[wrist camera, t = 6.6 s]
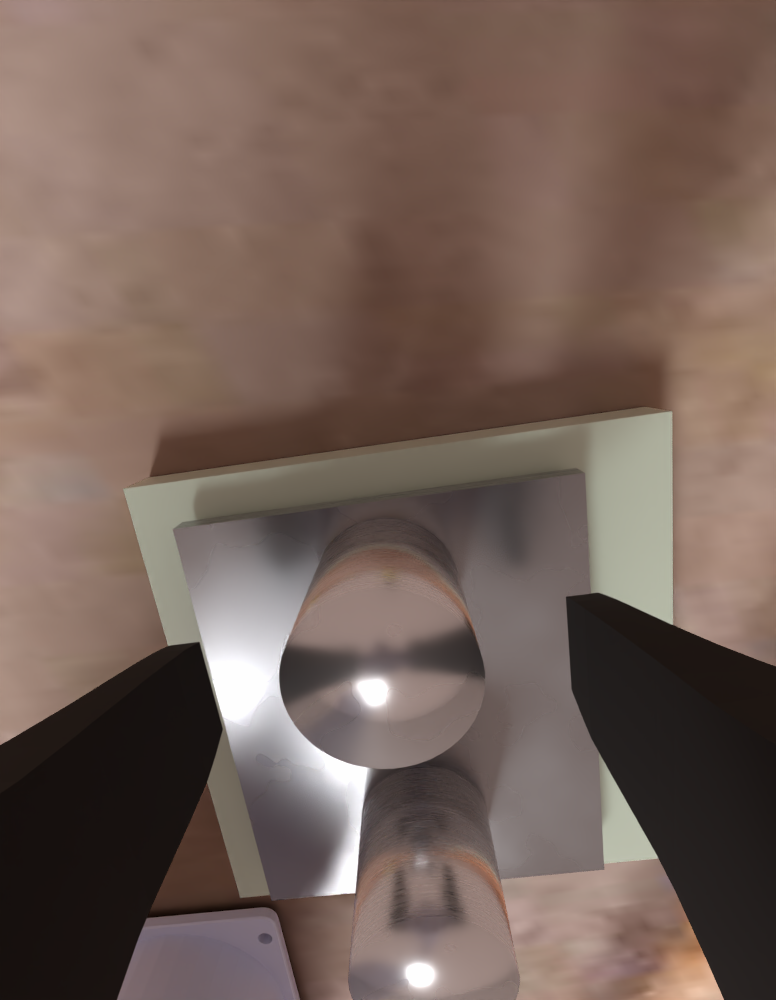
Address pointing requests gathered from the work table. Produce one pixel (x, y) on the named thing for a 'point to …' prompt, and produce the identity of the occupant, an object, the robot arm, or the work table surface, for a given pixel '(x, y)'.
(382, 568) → the cylinder
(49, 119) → the work table surface
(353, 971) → the cylinder
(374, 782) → the scale platform
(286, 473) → the scale
